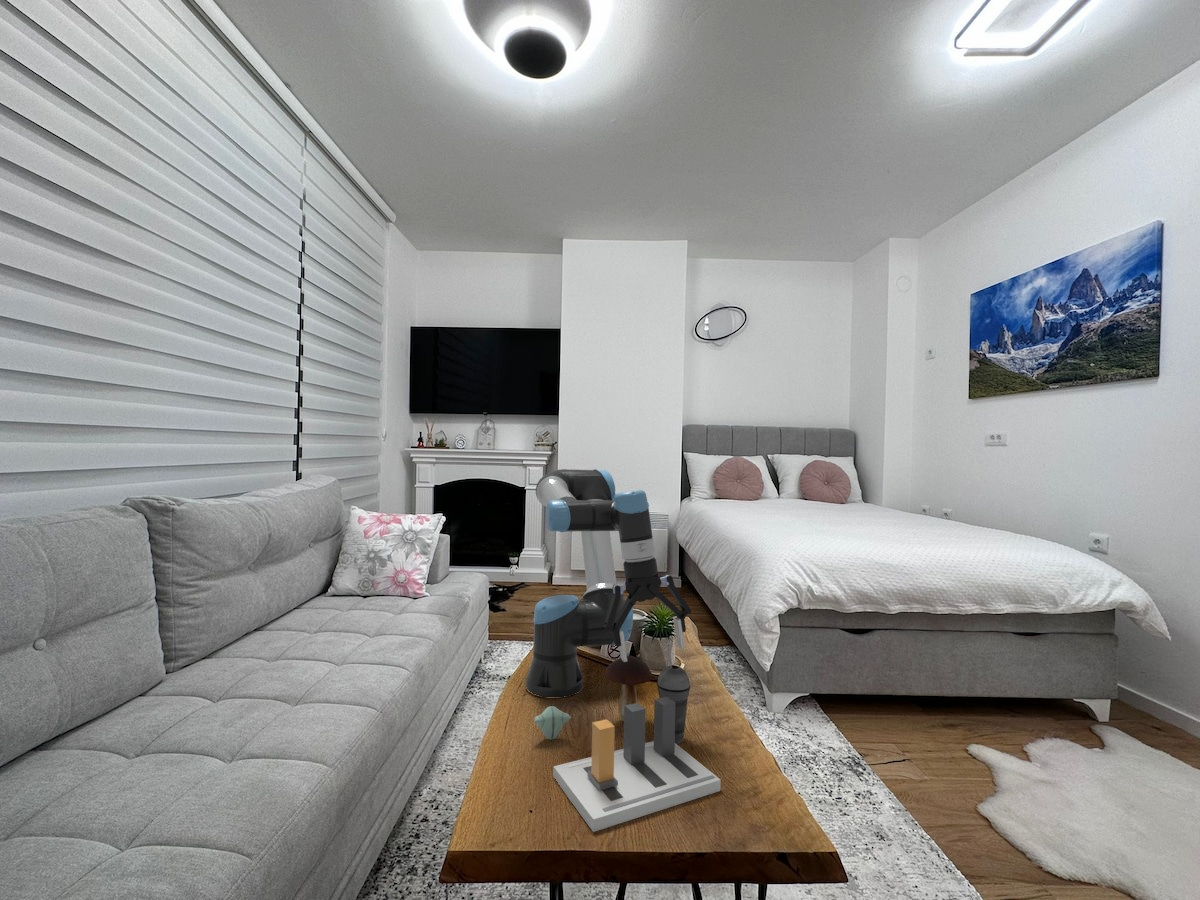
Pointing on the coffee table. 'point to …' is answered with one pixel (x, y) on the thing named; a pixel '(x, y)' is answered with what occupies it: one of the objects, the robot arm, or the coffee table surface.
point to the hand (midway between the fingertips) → (653, 653)
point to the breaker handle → (602, 755)
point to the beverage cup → (675, 693)
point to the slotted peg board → (638, 773)
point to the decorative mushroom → (628, 679)
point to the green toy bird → (551, 721)
